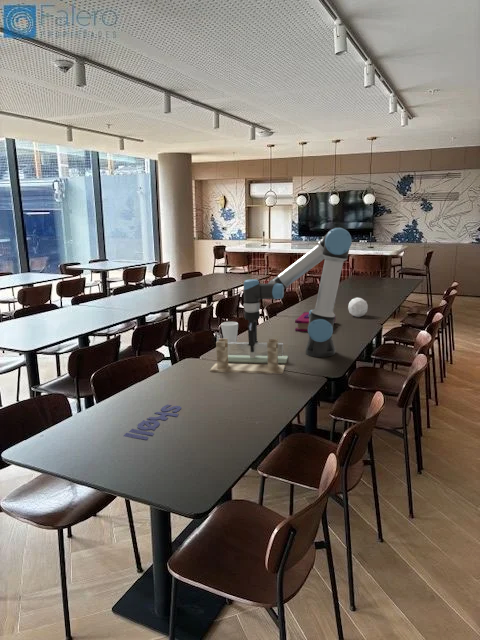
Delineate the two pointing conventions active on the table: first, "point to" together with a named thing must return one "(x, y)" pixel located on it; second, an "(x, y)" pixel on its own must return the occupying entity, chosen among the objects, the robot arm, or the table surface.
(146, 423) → the signage
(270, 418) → the table surface
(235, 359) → the green board
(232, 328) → the foam cup
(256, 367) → the rail stand
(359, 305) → the geodesic sphere
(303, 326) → the book
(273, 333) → the table surface
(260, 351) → the rail bar
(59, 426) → the table surface
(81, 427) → the table surface
